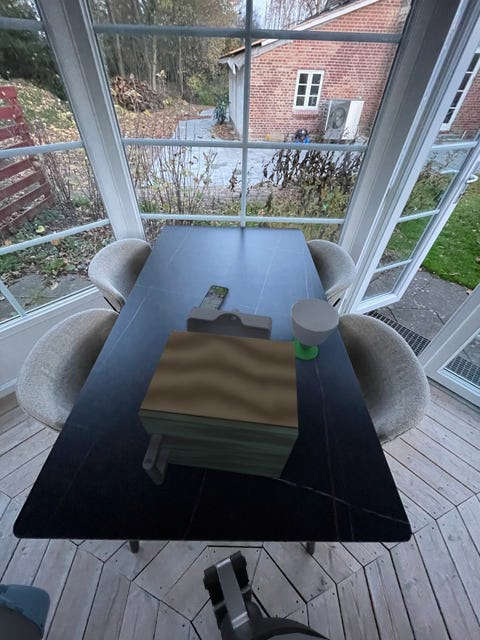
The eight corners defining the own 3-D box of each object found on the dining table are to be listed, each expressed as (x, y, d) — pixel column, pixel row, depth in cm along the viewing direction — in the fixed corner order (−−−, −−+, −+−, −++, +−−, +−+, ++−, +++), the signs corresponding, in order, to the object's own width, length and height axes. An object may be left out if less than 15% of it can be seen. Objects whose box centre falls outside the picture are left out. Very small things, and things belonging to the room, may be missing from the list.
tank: (270, 329, 91) (274, 302, 83) (265, 367, 80) (270, 340, 71) (200, 319, 94) (197, 292, 85) (186, 354, 83) (181, 327, 74)
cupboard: (279, 472, 60) (298, 427, 43) (165, 457, 62) (140, 408, 44) (279, 399, 73) (294, 342, 55) (185, 389, 74) (171, 330, 57)
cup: (332, 362, 82) (349, 327, 71) (290, 369, 80) (300, 334, 69) (315, 330, 91) (327, 295, 80) (277, 336, 89) (284, 300, 78)
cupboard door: (278, 510, 55) (300, 476, 38) (155, 492, 57) (122, 453, 40) (279, 473, 60) (298, 429, 43) (165, 458, 61) (139, 409, 44)
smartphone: (229, 288, 106) (217, 312, 95) (229, 290, 106) (217, 314, 96) (211, 284, 107) (197, 308, 96) (211, 287, 108) (198, 310, 97)
